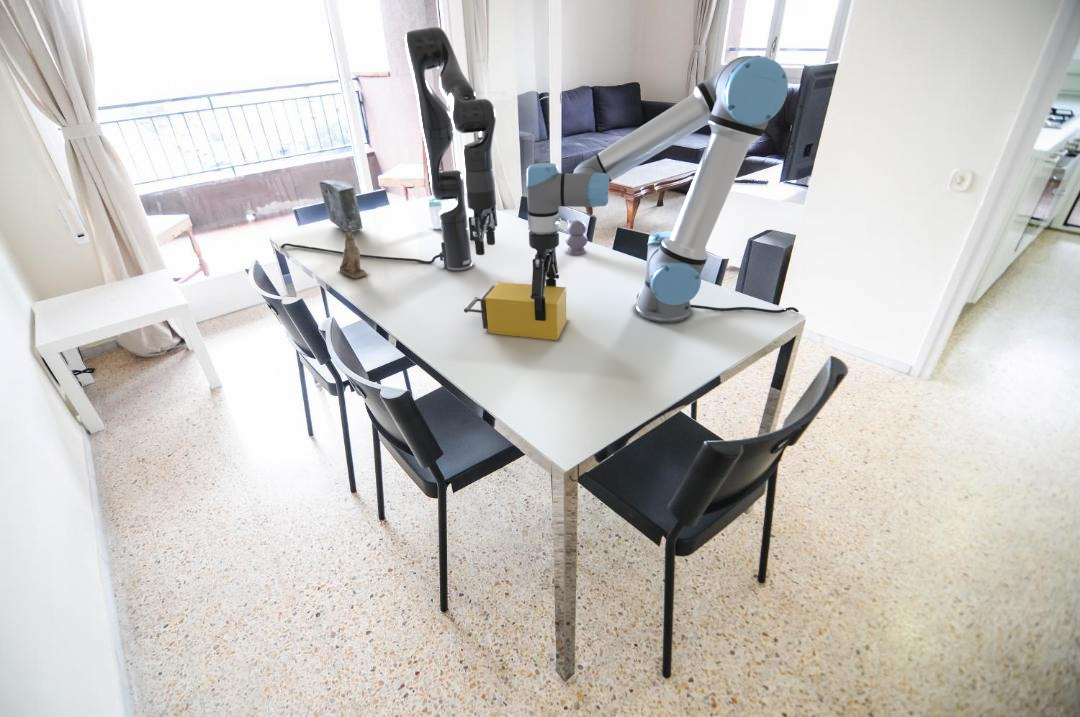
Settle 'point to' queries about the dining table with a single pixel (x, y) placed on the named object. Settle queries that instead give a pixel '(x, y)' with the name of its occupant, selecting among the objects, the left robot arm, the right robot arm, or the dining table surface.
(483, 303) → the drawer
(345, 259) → the brown carved statuette
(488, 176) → the left robot arm
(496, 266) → the dining table surface
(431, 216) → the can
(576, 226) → the grey rounded figurine
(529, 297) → the yellow box
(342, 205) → the concrete block
